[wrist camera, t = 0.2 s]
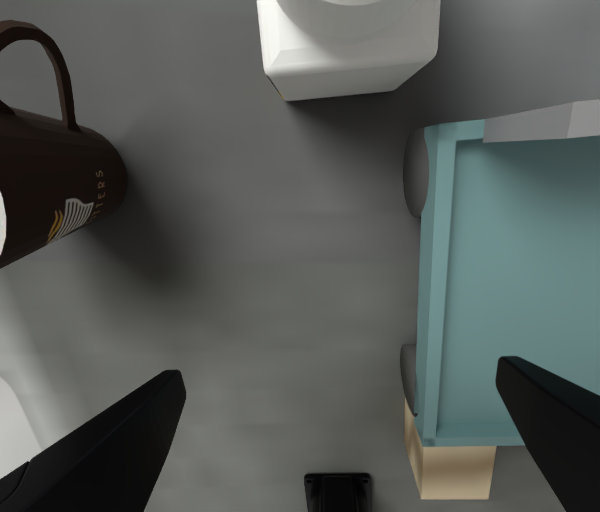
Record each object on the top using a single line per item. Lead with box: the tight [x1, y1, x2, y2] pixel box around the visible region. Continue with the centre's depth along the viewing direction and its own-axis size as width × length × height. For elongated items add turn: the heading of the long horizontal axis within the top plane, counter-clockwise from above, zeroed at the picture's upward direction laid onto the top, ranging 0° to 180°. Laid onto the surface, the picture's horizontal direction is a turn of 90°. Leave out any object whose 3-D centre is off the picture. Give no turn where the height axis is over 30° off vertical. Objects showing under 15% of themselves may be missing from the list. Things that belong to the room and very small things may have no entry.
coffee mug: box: [0, 20, 127, 269], centre depth 16 cm, size 12×9×10 cm
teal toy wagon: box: [400, 99, 600, 447], centre depth 17 cm, size 20×14×11 cm
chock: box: [404, 397, 497, 499], centre depth 25 cm, size 6×5×5 cm
